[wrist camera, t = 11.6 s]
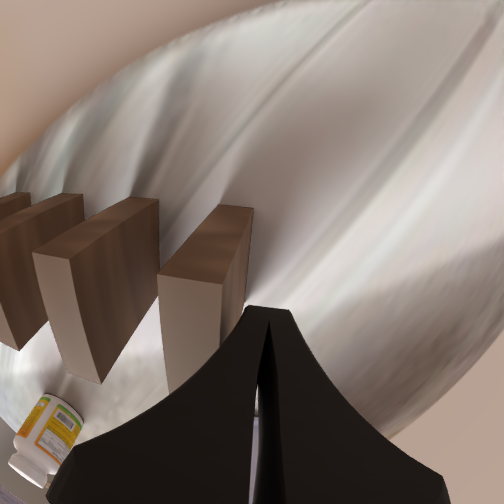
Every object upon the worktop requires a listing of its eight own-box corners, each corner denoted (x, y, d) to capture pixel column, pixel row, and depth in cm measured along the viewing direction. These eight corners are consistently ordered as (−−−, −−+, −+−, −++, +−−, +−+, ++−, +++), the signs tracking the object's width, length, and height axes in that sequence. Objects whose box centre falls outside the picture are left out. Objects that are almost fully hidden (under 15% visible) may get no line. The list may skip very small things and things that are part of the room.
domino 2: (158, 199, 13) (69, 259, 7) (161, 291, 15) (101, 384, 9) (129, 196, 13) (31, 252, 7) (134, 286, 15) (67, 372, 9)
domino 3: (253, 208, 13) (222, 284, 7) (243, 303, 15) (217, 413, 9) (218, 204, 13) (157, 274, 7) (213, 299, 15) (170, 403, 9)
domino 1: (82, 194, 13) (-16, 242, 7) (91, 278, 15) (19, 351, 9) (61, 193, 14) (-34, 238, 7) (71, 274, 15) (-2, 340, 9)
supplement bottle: (48, 411, 24) (13, 470, 15) (38, 384, 21) (-7, 449, 12) (87, 432, 24) (55, 498, 15) (80, 407, 22) (39, 482, 13)
